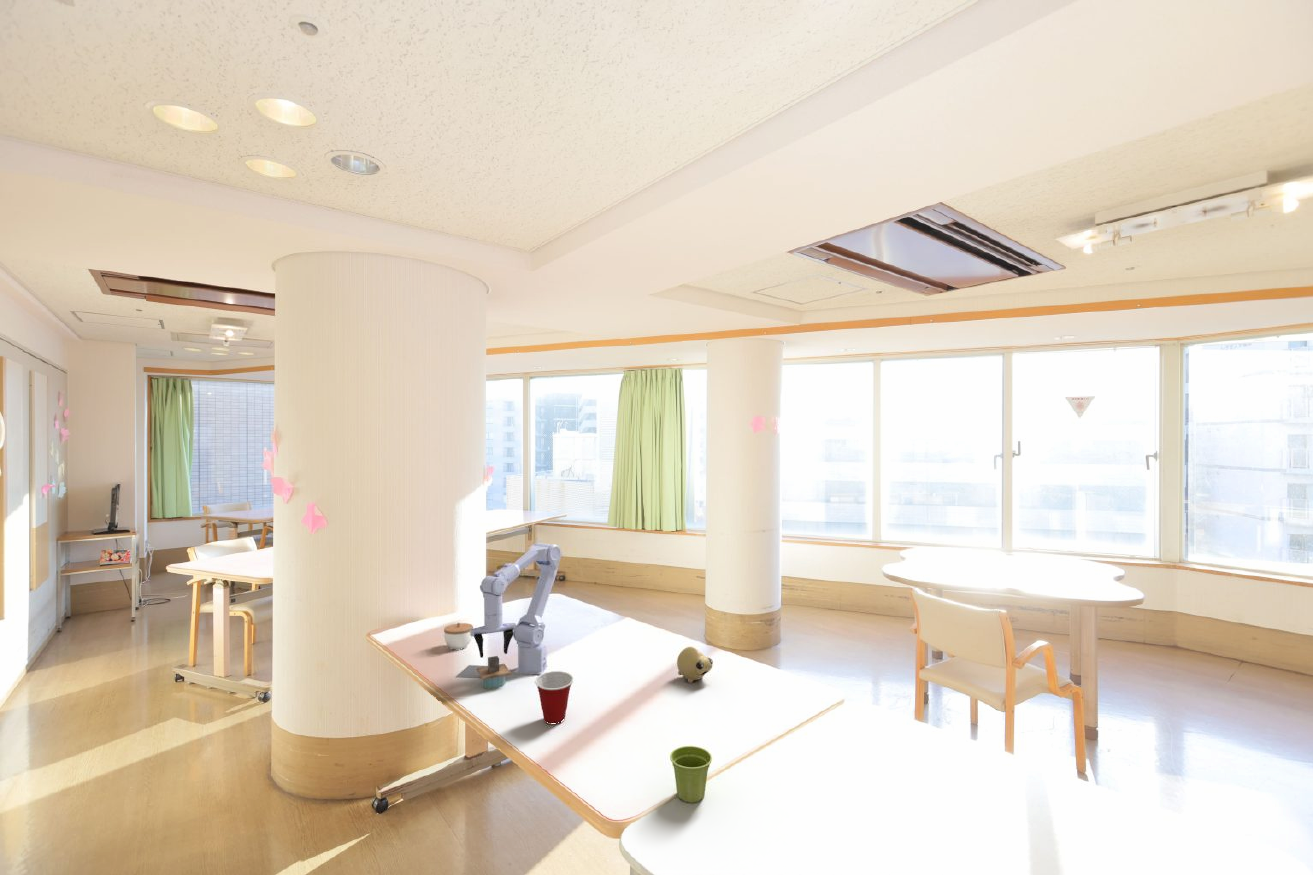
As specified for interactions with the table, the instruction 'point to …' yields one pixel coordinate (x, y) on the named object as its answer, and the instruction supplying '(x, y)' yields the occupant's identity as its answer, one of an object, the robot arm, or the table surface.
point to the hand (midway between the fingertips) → (493, 654)
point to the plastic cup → (554, 694)
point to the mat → (470, 672)
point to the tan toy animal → (693, 664)
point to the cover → (493, 669)
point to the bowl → (493, 682)
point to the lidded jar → (458, 635)
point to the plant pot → (690, 772)
